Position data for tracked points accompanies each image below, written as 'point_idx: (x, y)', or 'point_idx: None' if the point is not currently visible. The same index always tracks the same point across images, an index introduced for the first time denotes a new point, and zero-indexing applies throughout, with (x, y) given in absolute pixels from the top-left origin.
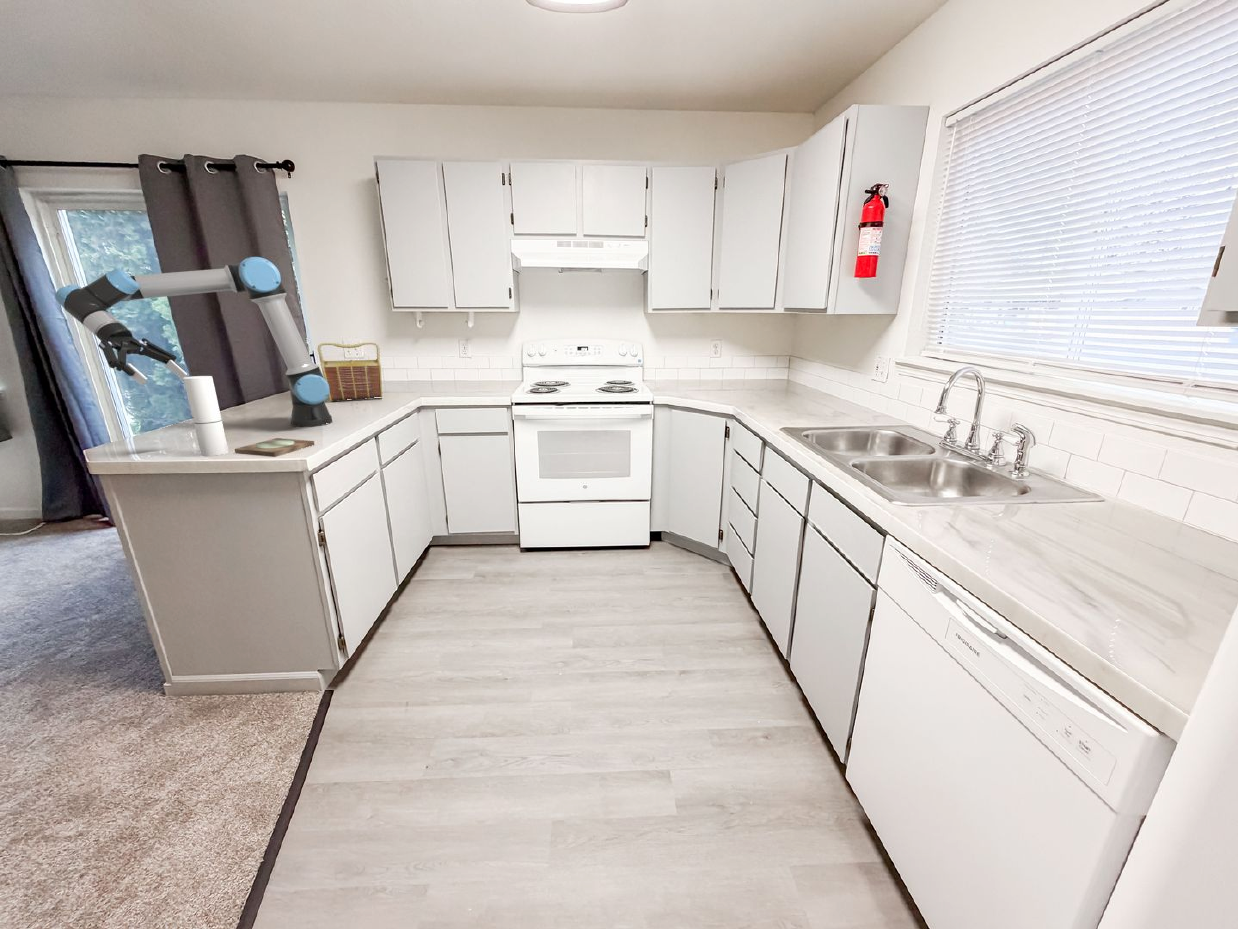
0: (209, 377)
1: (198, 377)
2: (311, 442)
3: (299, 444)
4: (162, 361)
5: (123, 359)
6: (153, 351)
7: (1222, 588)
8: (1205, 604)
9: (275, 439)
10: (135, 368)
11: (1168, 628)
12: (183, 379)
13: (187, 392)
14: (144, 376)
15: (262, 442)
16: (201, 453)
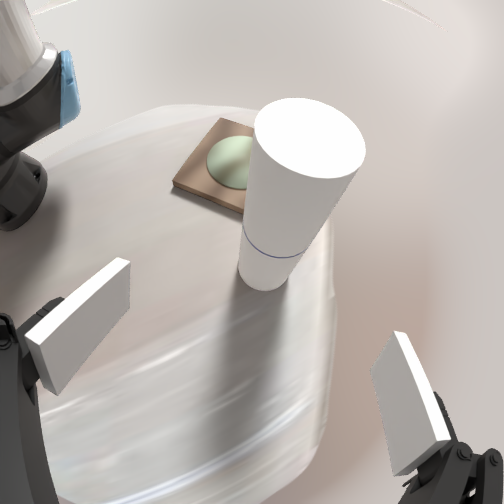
0: (312, 100)
1: (321, 128)
2: (225, 120)
3: (245, 128)
4: (36, 414)
5: (453, 482)
6: (13, 478)
7: (405, 3)
8: (413, 8)
9: (187, 177)
10: (425, 396)
11: (425, 16)
12: (346, 178)
13: (337, 202)
14: (402, 344)
15: (213, 190)
16: (284, 281)
